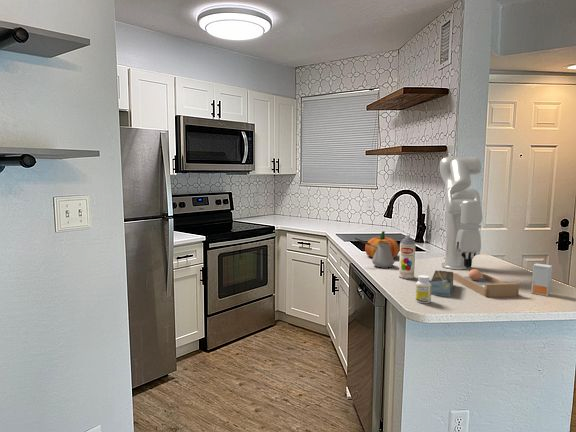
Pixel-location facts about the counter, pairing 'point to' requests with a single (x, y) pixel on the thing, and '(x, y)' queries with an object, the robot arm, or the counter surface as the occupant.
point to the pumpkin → (371, 250)
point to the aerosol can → (407, 258)
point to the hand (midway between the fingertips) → (467, 267)
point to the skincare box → (541, 279)
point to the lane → (489, 286)
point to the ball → (475, 274)
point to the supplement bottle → (423, 289)
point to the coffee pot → (381, 254)
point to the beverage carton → (442, 283)
